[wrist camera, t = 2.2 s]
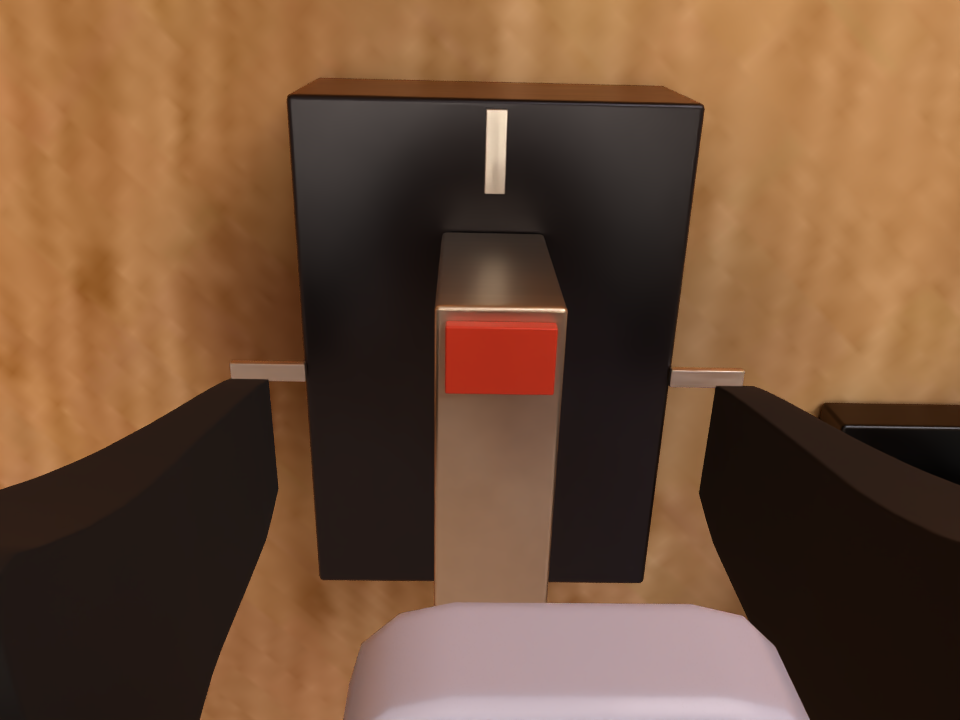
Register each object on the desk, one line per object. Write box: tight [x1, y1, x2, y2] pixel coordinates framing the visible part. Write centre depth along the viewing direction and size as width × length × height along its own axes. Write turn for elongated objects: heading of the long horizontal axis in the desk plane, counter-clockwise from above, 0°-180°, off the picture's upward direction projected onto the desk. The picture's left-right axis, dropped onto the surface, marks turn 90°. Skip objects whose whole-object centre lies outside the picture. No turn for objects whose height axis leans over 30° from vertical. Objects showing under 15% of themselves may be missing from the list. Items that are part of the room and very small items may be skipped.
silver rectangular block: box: [434, 233, 568, 606], centre depth 14 cm, size 6×2×4 cm, turn 179°
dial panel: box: [230, 78, 745, 583], centre depth 17 cm, size 10×10×3 cm
